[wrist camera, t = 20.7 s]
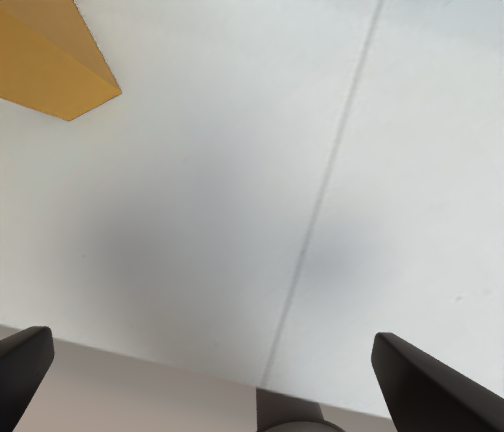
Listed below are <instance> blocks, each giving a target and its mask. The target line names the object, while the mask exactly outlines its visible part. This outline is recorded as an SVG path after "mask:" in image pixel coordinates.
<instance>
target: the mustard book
mask: <svg viewBox="0 0 504 432" xmlns="http://www.w3.org/2000/svg"><path fill="white" fill-rule="evenodd" d="M121 93H122V92H121V90H120V88H119V86H118V84H117V82H116V80H115V78H114V77H113V75H112V73H111V71H110V69H109V67H108V65H107V63H106V62H105V60H104V58H103V56H102V54H101V52H100V50H99V48H98V47H97V45H96V43H95V41H94V39H93V37H92V35H91V33H90V32H89V30H88V28H87V26H86V24H85V22H84V20H83V18H82V17H81V15H80V13H79V11H78V9H77V7H76V5H75V3H74V2H73V0H0V98H2V99H5V100H8V101H11V102H14V103H17V104H20V105H23V106H26V107H29V108H32V109H34V110H37V111H40V112H43V113H46V114H49V115H52V116H55V117H58V118H61V119H64V120H67V121H70V120H72V119H74V118H76V117H78V116H80V115H82V114H83V113H85V112H87V111H89V110H91V109H93V108H95V107H97V106H98V105H100V104H102V103H104V102H106V101H108V100H110V99H111V98H113V97H115V96H117V95H119V94H121Z"/></svg>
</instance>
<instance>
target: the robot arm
mask: <svg viewBox="0 0 504 432" xmlns="http://www.w3.org/2000/svg"><path fill="white" fill-rule="evenodd" d="M53 359H54V346H53V338H52V332H51V329H50V328H49V327H47V326H33V327H29V328H27V329H25V330H23V331H20V332H18V333H16V334H14V335H11V336H9V337H7V338H5V339H2V340H0V432H12V431H13V430H14V428H15V427H16V425H17V423H18V422H19V420H20V418H21V417H22V415H23V413H24V412H25V410H26V408H27V406H28V405H29V403H30V401H31V399H32V397H33V396H34V394H35V392H36V390H37V389H38V387H39V385H40V383H41V381H42V380H43V378H44V376H45V374H46V372H47V371H48V369H49V367H50V365H51V363H52V361H53ZM371 362H372V366H373V369H374V372H375V375H376V377H377V380H378V383H379V385H380V388H381V391H382V394H383V396H384V399H385V402H386V404H387V407H388V410H389V412H390V415H391V417H392V420H393V422H394V425H395V427H396V429H397V431H398V432H504V399H503V398H502V397H500V396H498V395H497V394H495V393H493V392H491V391H490V390H488V389H486V388H485V387H483V386H481V385H480V384H478V383H476V382H474V381H473V380H471V379H469V378H468V377H466V376H464V375H463V374H461V373H459V372H457V371H456V370H454V369H452V368H451V367H449V366H447V365H446V364H444V363H442V362H440V361H439V360H437V359H435V358H434V357H432V356H430V355H429V354H427V353H425V352H423V351H422V350H420V349H418V348H417V347H415V346H413V345H412V344H410V343H408V342H407V341H405V340H403V339H401V338H400V337H398V336H396V335H395V334H393V333H386V332H379V333H377V334H376V335H375V338H374V344H373V349H372V355H371Z"/></svg>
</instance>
